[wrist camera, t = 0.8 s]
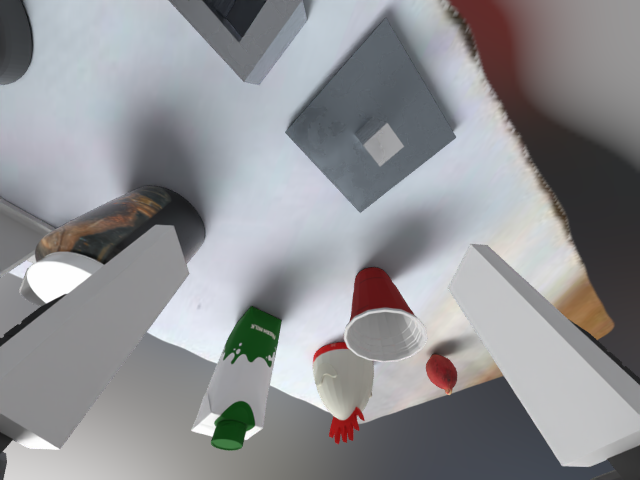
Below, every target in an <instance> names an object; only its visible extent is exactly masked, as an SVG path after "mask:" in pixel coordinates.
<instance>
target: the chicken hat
mask: <svg viewBox="0 0 640 480" xmlns="http://www.w3.org/2000/svg"><path fill="white" fill-rule="evenodd" d="M313 374H314V378H315V384H316V386H317V390H318V393H319V395H320V398H321V400H322V402H323V404H324V405H325V407H326V408H327V410H328V411H329V412H330V413H331V414H332V415H333V420H332V424H331V428H330V433H329V437H332V438H333V436H334V435H335V442H336V443H337V444H339V441H340V434H341V435H342V440H343V442H346V443H347V433H348V437H349V440H352V441H353V426H354V428H355V429H356V430H358V431H359V426H358V422H357V417H358V416H359V417H360V419H361V420H363V421H365V420H364V417H363V414H362V411H363V410H364V409H365V407H366V405H367V403H368V400H369V398H370V397H371V396H372V392H371V391H372V385H373V377H374V366H373V361H371V360H367V359H365V358H362V357H360V356H357V355H356V354H355V353H353V352H352V351H351V350H350V349H349V348H348V347H347V345H346V343H345V342H337V343H332V344H328V345H326V346H323V347H321V348H320V349H319V350H318V351H316V353H315V355H314V358H313Z"/></svg>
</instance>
